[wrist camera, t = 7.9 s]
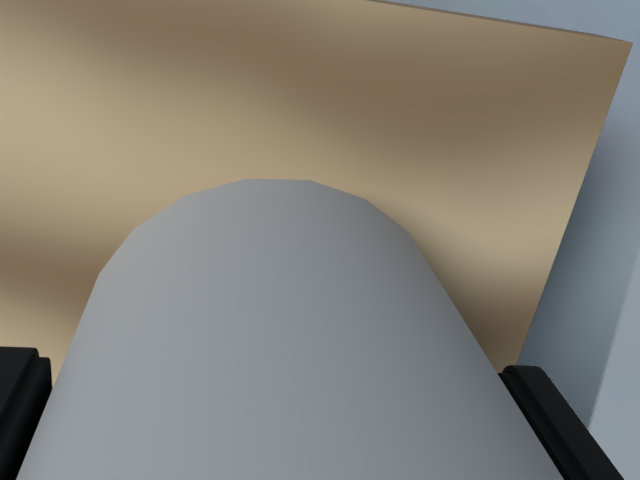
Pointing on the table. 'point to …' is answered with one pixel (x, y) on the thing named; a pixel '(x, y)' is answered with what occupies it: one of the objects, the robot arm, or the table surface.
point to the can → (277, 354)
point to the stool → (292, 137)
